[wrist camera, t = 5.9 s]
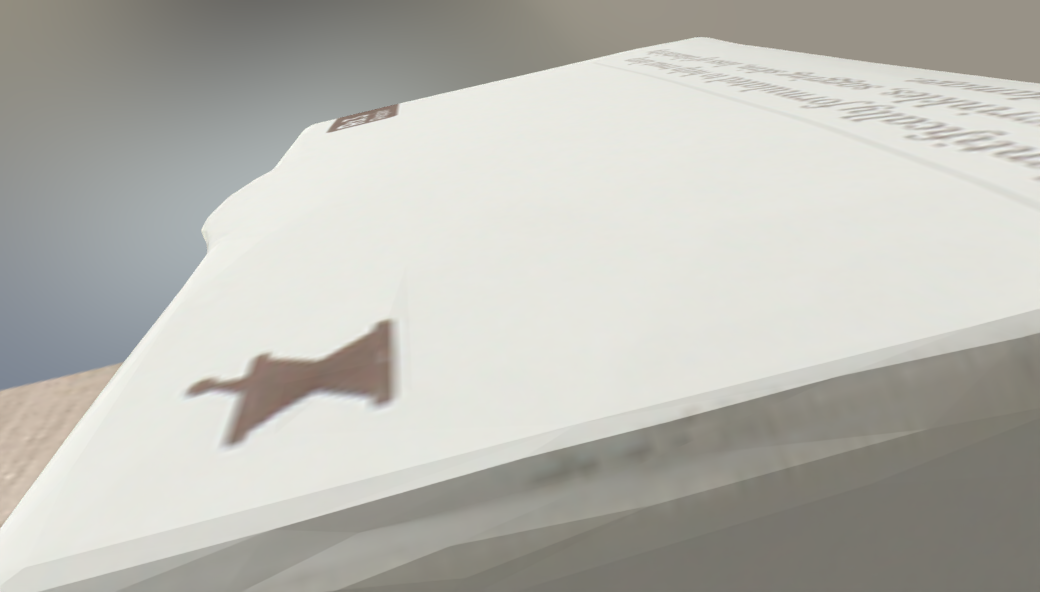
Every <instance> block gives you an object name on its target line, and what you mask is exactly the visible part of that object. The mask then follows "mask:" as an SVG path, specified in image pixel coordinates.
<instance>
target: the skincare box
mask: <svg viewBox="0 0 1040 592" xmlns="http://www.w3.org/2000/svg"><path fill="white" fill-rule="evenodd" d="M201 231H202V234H203V237H204V239H205V240H206V242H207V254H206V256H205V258H204V259H203V261H202V262H201V263H200V265H199V266H198V267H197V269H196V270H195V271H194V273H193V274H192V276H191V277H190V278H189V280H188V281H187V282H186V284H185V285H184V286H183V288H182V289H181V290H180V292H179V293H178V294H177V295H176V297H175V298H174V299H173V301H172V302H171V303H170V305H169V306H168V307H167V308H166V309H165V311H164V312H163V313H162V315H161V316H160V317H159V318H158V320H157V321H156V322H155V324H154V325H153V326H152V327H151V329H150V330H149V331H148V332H147V334H146V335H145V336H144V337H143V339H142V340H141V341H140V342H139V344H138V345H137V346H136V348H135V349H134V350H133V352H132V353H131V354H130V355H129V356H128V358H127V359H126V360H125V362H124V363H123V364H122V365H121V367H120V368H119V369H118V371H117V372H116V373H115V375H114V376H113V377H112V379H111V380H110V381H109V383H108V384H107V385H106V387H105V388H104V389H103V391H102V392H101V393H100V395H99V396H98V397H97V399H96V400H95V401H94V403H93V404H92V405H91V407H90V408H89V409H88V411H87V412H86V413H85V415H84V416H83V417H82V419H81V420H80V421H79V422H78V424H77V425H76V426H75V428H74V429H73V430H72V432H71V433H70V434H69V436H68V437H67V438H66V440H65V441H64V443H63V444H62V445H61V447H60V448H59V449H58V451H57V452H56V453H55V455H54V456H53V458H52V459H51V460H50V462H49V463H48V464H47V466H46V467H45V468H44V470H43V471H42V472H41V474H40V475H39V477H38V478H37V479H36V481H35V482H34V483H33V485H32V486H31V487H30V489H29V490H28V492H27V493H26V494H25V496H24V497H23V498H22V500H21V501H20V502H19V504H18V505H17V506H16V508H15V509H14V511H13V512H12V513H11V515H10V516H9V517H8V519H7V520H6V521H5V523H4V524H3V526H2V527H1V528H0V592H1040V84H1038V83H1029V82H1022V81H1013V80H1006V79H998V78H990V77H982V76H973V75H965V74H957V73H950V72H942V71H933V70H926V69H918V68H910V67H902V66H894V65H886V64H878V63H870V62H863V61H856V60H849V59H842V58H835V57H828V56H821V55H813V54H807V53H800V52H793V51H786V50H779V49H771V48H764V47H756V46H748V45H741V44H736V43H731V42H726V41H721V40H717V39H712V38H708V37H696V38H691V39H686V40H682V41H676V42H671V43H665V44H660V45H655V46H650V47H645V48H639V49H634V50H630V51H626V52H621V53H617V54H613V55H609V56H604V57H600V58H595V59H591V60H587V61H582V62H578V63H574V64H569V65H565V66H561V67H557V68H552V69H549V70H544V71H540V72H536V73H531V74H526V75H522V76H518V77H513V78H509V79H505V80H500V81H496V82H492V83H487V84H483V85H478V86H474V87H470V88H465V89H461V90H456V91H452V92H448V93H443V94H439V95H435V96H430V97H426V98H422V99H417V100H413V101H409V102H404V103H400V104H396V105H391V106H387V107H383V108H380V109H375V110H371V111H367V112H363V113H358V114H354V115H350V116H346V117H342V118H337V119H333V120H329V121H325V122H321V123H317V124H313V125H312V126H310V127H308V128H306V129H304V131H303V132H302V133H301V134H300V136H299V137H298V138H297V140H296V141H295V142H294V144H293V145H292V146H291V147H290V149H289V150H288V151H287V152H286V154H285V155H284V157H283V158H282V159H281V160H280V161H279V163H278V164H277V165H276V167H275V168H274V169H273V170H272V171H270V172H268V173H266V174H264V175H263V176H261V177H259V178H257V179H255V180H254V181H252V182H251V183H249V184H248V185H246V186H245V187H243V188H242V189H240V190H239V191H237V192H236V193H234V194H233V195H231V196H229V197H228V198H227V199H226V200H225V201H224V202H223V203H222V204H221V205H220V206H219V207H218V208H217V209H216V210H215V211H214V212H213V213H212V214H211V215H210V216H209V217H208V218H207V220H206V222H205V224H204V226H203V228H202V230H201Z"/></svg>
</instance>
